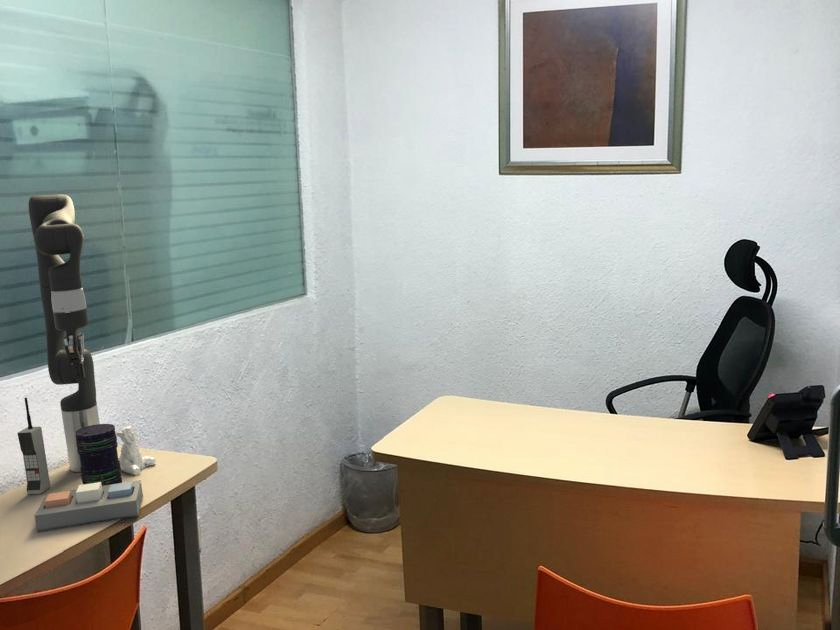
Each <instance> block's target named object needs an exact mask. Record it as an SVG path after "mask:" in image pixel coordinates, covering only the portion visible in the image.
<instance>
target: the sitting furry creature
mask: <svg viewBox="0 0 840 630" xmlns="http://www.w3.org/2000/svg"><path fill="white" fill-rule="evenodd" d="M116 436H117V437H118V438H119V439H120V440H121V441H122V446H121V448H120V449H121V450H120V456H118V460H119V461H120V467H121V472H125V473H127V474H130V475H132V476H137V474H138V475H140V473H141V470H143V469H144V468H143V467H145V468H147V467H149V466H148V465H153V466H155V465H156V464H155V463H156V458H155V457H151V456H150V455H147V456H142V453H141V451H140V447H139V445H138V443H137V438H138V433H137V431H136V429H135V428H133V426H130V425H129V426H126V427H123V428H122V429H121V430H120V431H118V432H116ZM154 464H155V465H154ZM146 466H147V467H146ZM142 468H143V469H142Z"/></svg>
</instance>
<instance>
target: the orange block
mask: <svg viewBox="0 0 840 630" xmlns="http://www.w3.org/2000/svg"><path fill="white" fill-rule="evenodd" d="M65 491H66V492H63V491H58V492H59V493H56V492H51V493H52V494H50V493H47V494H48V496H47V498H46V500H45V507H46V508H49V507H55V506H62V505H69V504H70V503H71V501H72V494H71V491H70V490H65Z"/></svg>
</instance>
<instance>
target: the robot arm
mask: <svg viewBox="0 0 840 630" xmlns="http://www.w3.org/2000/svg"><path fill="white" fill-rule="evenodd" d="M28 216H29V221H30V226H31V231H32V237H33V242H34V246H35V248H34V249H35V253H36V261H37V269H38V279H39V281H38V283H39V289H40V291H39V292H40V298H41V299H40V300H41V303H42V310H43V315H44V323H45V324H44V325H45V334H46V337H45V338H46V355H47V369H48V375H49V378H50V380H51V382H52V383H53V384H54V385H57V386H58V385H59V386H61V385H62V386H63V385H73V384H75V385H76V384H77V385H78V386H77V387H78V388H77V391H75V392H73V393H71V394H69V395H67V396H64V397H63V398H61V399H60V402H59V403H60V411H61V418H62V424H63V430H64V437H65V439H64V440H65V444H66V451H67V457H68V465H69V471H70V472H72V473H74V472H75V473H81V472H80V471H81V470H80V468H81V463H80V456H79V454H78V452H77V445H76V442H77V441H76V435H75V432H76V431H77V430H79V429H81V428H84V427H87V426H91V425H97V424H101V423H100V416H99V411H98V403H97V388H96V381H95V380H96V378H95V364H94V359H93V356H92V354H91V352H90V351H89V350H88V349H85V335H84V333H82V331H81V329H83V328H87V327H88V326H89V325H90V320H89V316H88V315H89V314H88V308H87V301H86V296H85V292H84V289H83V287H84V285H83V279H82V273H81V260H82V252H83V249H84V248H83V247H84V241H85V235H84V232H83V229H82V228H81V227H80V226H79V225H78V224H76V221H75V220H76V213H75V207H74V203H73V200H72V198H71V197H70V196H69V195H67V194H42V195H41V194H40V195H33V196H30V198H29V200H28ZM68 254H69V258H68V259H67V260H65V261H64V260H63V259H62V257H60V255H68ZM64 345H65V346H64Z"/></svg>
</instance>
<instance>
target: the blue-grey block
mask: <svg viewBox="0 0 840 630" xmlns="http://www.w3.org/2000/svg"><path fill="white" fill-rule="evenodd" d="M108 495H109V498H115V497H122V496H129V495H133V484H132V482H131V481H127V483H125V482H122V483H120V484H113V485H110V488H109V491H108Z"/></svg>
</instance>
